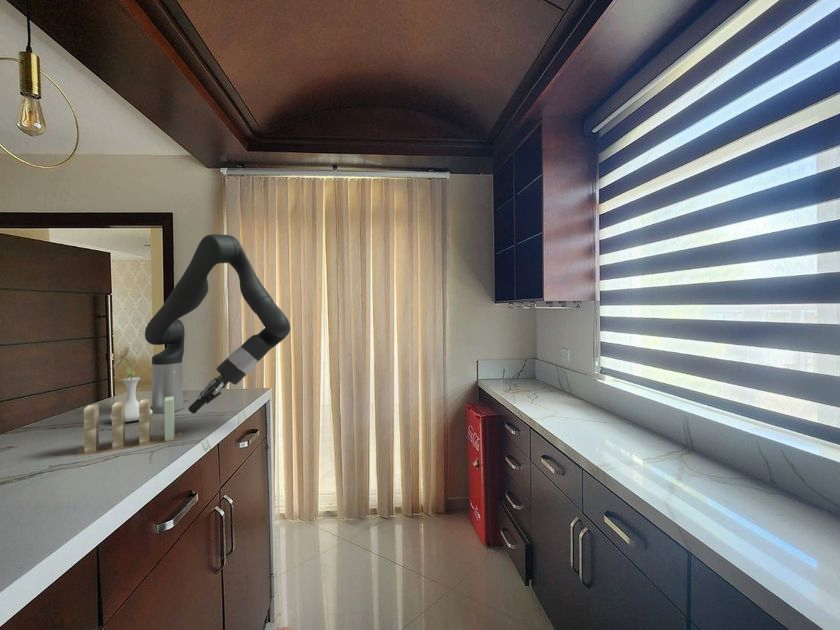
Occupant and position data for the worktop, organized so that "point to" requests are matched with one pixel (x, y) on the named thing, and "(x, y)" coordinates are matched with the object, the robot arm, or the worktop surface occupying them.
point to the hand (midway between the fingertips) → (190, 411)
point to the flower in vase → (129, 389)
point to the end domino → (91, 428)
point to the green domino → (169, 418)
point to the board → (129, 444)
